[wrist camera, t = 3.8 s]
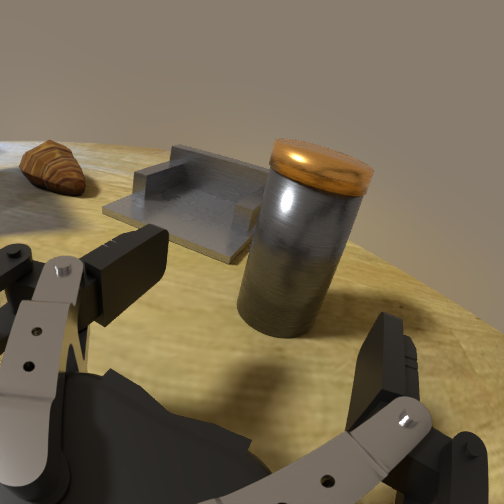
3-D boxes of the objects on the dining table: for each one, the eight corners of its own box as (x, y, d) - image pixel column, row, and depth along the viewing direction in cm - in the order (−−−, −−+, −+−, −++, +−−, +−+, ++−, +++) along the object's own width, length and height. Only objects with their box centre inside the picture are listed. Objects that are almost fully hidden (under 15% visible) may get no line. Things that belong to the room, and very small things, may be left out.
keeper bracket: (173, 182, 37) (179, 144, 34) (274, 215, 34) (285, 174, 32) (102, 213, 26) (104, 162, 24) (228, 264, 24) (241, 205, 22)
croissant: (3, 176, 30) (2, 136, 27) (45, 164, 35) (47, 128, 33) (52, 209, 26) (51, 156, 23) (105, 192, 31) (108, 145, 29)
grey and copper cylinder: (312, 295, 23) (360, 158, 18) (318, 346, 18) (386, 181, 13) (240, 278, 22) (275, 134, 18) (229, 328, 18) (273, 148, 13)
